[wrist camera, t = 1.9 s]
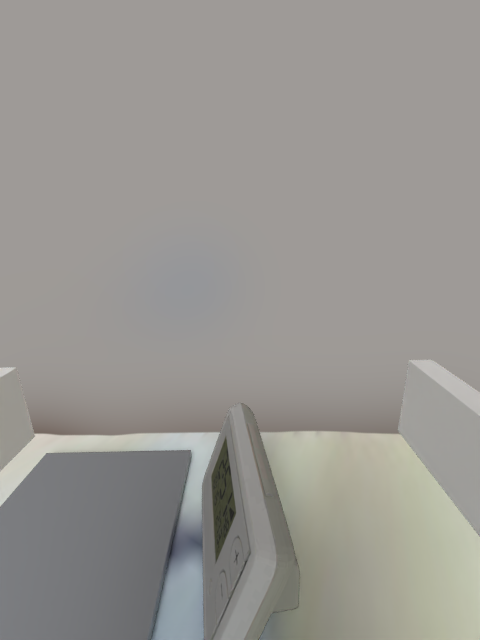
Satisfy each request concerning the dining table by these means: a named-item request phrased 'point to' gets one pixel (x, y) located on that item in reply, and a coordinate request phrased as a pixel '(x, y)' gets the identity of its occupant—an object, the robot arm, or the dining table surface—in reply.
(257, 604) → the digital clock
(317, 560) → the dining table surface
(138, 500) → the docking pad
